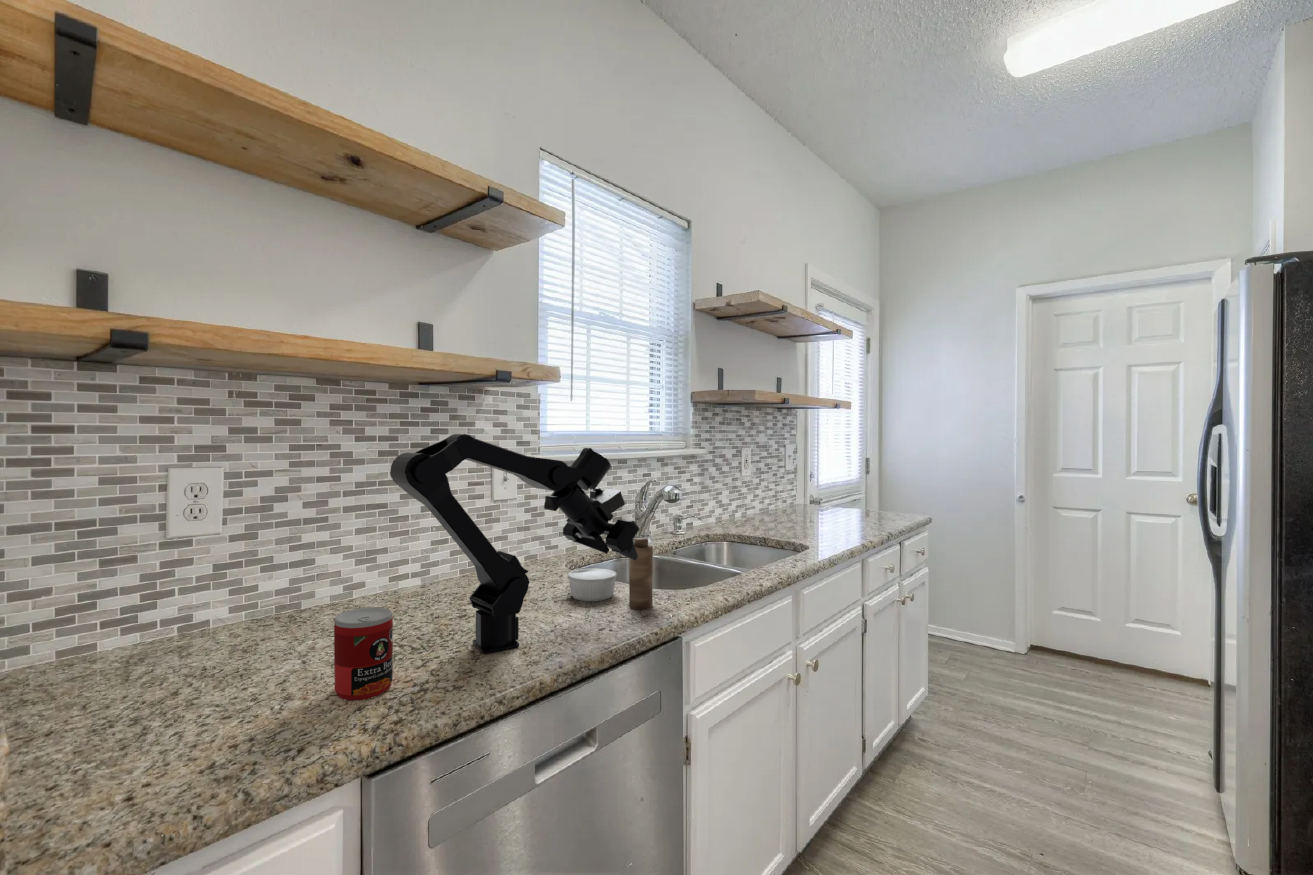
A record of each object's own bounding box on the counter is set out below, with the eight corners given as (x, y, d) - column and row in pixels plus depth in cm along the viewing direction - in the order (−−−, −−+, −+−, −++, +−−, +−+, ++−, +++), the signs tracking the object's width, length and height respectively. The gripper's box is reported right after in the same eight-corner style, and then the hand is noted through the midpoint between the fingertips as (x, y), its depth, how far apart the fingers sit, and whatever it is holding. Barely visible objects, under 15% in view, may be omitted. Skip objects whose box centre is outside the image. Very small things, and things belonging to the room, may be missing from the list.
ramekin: (589, 587, 145) (590, 565, 145) (626, 594, 139) (626, 572, 139) (557, 597, 136) (557, 574, 136) (594, 606, 130) (595, 582, 130)
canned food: (354, 706, 82) (354, 627, 82) (322, 692, 87) (322, 617, 86) (404, 686, 89) (404, 612, 89) (372, 674, 93) (372, 604, 93)
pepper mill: (637, 611, 126) (637, 541, 126) (625, 605, 130) (625, 538, 130) (656, 607, 129) (657, 539, 129) (644, 601, 133) (644, 536, 133)
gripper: (631, 479, 115) (672, 530, 123) (574, 474, 128) (614, 519, 136) (599, 525, 110) (644, 575, 117) (543, 514, 123) (586, 559, 131)
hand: (621, 555), depth 126 cm, fingers open, 9 cm apart
